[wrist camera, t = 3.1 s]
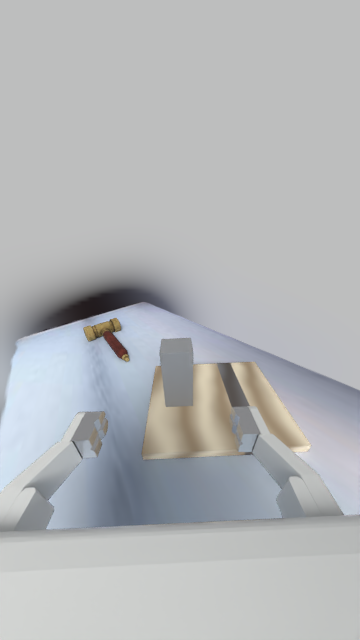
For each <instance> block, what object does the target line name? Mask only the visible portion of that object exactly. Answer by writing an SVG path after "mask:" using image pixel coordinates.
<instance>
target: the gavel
mask: <svg viewBox="0 0 360 640" xmlns="http://www.w3.org/2000/svg"><path fill="white" fill-rule="evenodd" d="M83 329H84V333H85V335H86V338H87V340H88V341H92V340H95V339H96V337H101V336H104V338H105V340H106V341H107V342H108V344H109V345H110V347H111V348H112V349H113V351H114V352H115V353H116V355H117V356H118V357H119V358H121V359H123V360H125V361H126V362H128V361H129V358H128V353H127V350H126V349H125V348H124V347H123V346H122V344H121V343H120V342H119V341H118V340H117V338H116V337H115V336H114V335H113V334H112V332H113V331H114V332H117V331H120V330H121V326H120V323H119V321H118V319H117V318H114V319H110V321H109V322H108V321H107V322H104V323H100V324H97V325H94V326H92V327H91V326H87V327H84V328H83Z"/></svg>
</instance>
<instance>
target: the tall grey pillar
mask: <svg viewBox="0 0 360 640" xmlns="http://www.w3.org/2000/svg"><path fill="white" fill-rule="evenodd" d="M160 361H161V370H162V379H163V388H164V396H165V405H166V407H179V406H193V348H192V342H191V338H177V339H162V340H161V347H160Z"/></svg>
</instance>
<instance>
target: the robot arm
mask: <svg viewBox="0 0 360 640" xmlns="http://www.w3.org/2000/svg"><path fill="white" fill-rule="evenodd" d="M229 422H230V427H231V431H232V432H233V433H234V434H235V438H234V441H235V444H236V447H237V450H238V452H252V453H253V454H254V456H255V457H256V458H257V459H258V461H259V462H260V463H261V464H262V466H263V467H264V468H265V469H266V470H267V472H268V473H269V474H270V475H271V477H272V478H273V479H274V480H275V482H276V483H277V484H278V485H279V486H280V488H281V489H282V490H281V491H280V493H279V494H278V496H277V498H276V501H277V504H278V506H279V509H280V512H281V514H282V517H283V518H277V519H256V520H235V521H214V522H193V523H173V524H152V525H131V526H110V527H89V528H68V529H47V530H46V528H47V525H48V523H49V521H50V519H51V516H52V514H53V512H54V507H53V506H52V505H51V504H50V502H49V501H48V500H49V499H50V498H51V496H52V495H53V494H54V493H55V492H56V490H57V489H58V488H59V487H60V486H61V485H62V483H63V482H64V481H65V480H66V479H67V477H68V476H69V475H70V474H71V473H72V471H73V470H74V469H75V468H76V467H77V466H78V464H79V463H80V462H81V461H82V459H84V458H97V457H98V454H99V451H100V449H101V446H102V442H101V440H102V439H103V438H104V437H105V435H106V432H107V428H108V420H107V419H106V418H105V412H104V411H100V412H78V413H77V414H76V416H75V417H74V419H73V421H72V422H71V424H70V426H69V428H68V429H67V431H66V433H65V434H64V436H63V438H62V439H61V441H60V442H57V443H56V444H55V445H53V446H52V447H51V448H50V449H49V450H48V451H46V452H45V453H44V454H43V455H42V456H41V457H39V458H38V459H37V460H36V461H35V462H34V463H32V464H31V465H30V466H29V467H28V468H27V469H25V470H24V471H23V472H22V473H21V474H20V475H18V476H17V477H16V478H15V479H14V480H13V481H11V482H10V483H9V484H8V485H7V486H6V487H4V489H3V490H2V492H1V493H0V640H360V515H344V514H343V513H342V511H341V509H340V508H339V506H338V505H337V503H336V501H335V500H334V498H333V497H332V495H331V493H330V492H329V490H328V489H327V487H326V485H325V484H324V482H323V481H322V479H321V477H320V476H319V474H317V473H316V472H315V471H314V470H313V469H312V468H311V467H310V466H308V465H307V464H306V463H305V462H304V461H303V460H302V459H301V458H299V457H298V456H297V455H296V454H295V453H294V452H293V451H292V450H290V449H289V448H288V447H287V446H286V445H285V444H284V443H283V442H281V441H280V440H279V439H278V438H277V437H276V436H275V435H273V434H270V432H269V430H268V428H267V426H266V424H265V422H264V420H263V418H262V416H261V414H260V413H259V411H258V409H257V407H256V406H240V407H232V408H231V414H230V416H229Z"/></svg>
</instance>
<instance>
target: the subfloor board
mask: <svg viewBox="0 0 360 640" xmlns="http://www.w3.org/2000/svg"><path fill="white" fill-rule="evenodd" d="M240 406H256V407H257V409H258V411H259V413H260V414H261V416H262V418H263V420H264V422H265V424H266V426H267V428H268V430H269V432H270V434H273V435H275V436H276V437H277V438H278V439H279V440H280V441H281V442H283V443H284V444H285V445H286V446H287V447H288V448H289V449H290V450H292V451H293V452H308V450H309V449H310V447H311V444H310V443H309V441H308V440H307V438H306V437H305V435H304V434H303V432H302V431H301V430H300V428H299V427H298V425H297V424H296V422H295V421H294V419H293V418H292V416H291V415H290V413H289V412H288V410H287V409H286V407H285V406H284V404H283V403H282V401H281V400H280V398H279V397H278V396H277V394H276V393H275V391H274V390H273V388H272V387H271V385H270V384H269V382H268V381H267V379H266V378H265V376H264V375H263V373H262V372H261V370H260V369H259V367H258V366H257V364H256V363H255V362H239V363H217V364H194V365H193V406H179V407H166V405H165V396H164V388H163V379H162V370H161V366H156V368H155V374H154V380H153V387H152V393H151V399H150V405H149V411H148V417H147V424H146V430H145V436H144V442H143V448H142V457H143V460H150V459H170V458H190V457H210V456H230V455H250V454H253V453H252V452H238V450H237V447H236V444H235V441H234V438H235V434H234V433H233V432H232V431H231V427H230V422H229V416H230V414H231V408H232V407H240Z"/></svg>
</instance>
